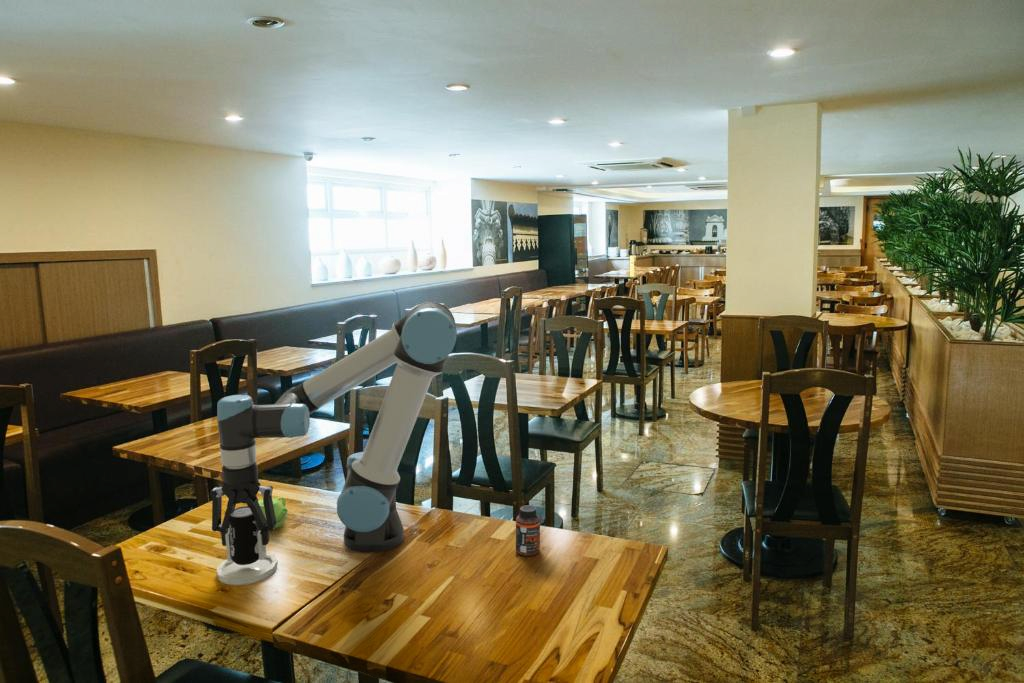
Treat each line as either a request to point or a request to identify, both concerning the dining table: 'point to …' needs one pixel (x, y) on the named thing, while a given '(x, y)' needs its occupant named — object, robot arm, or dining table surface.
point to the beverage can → (243, 536)
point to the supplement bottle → (527, 531)
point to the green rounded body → (277, 511)
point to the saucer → (246, 571)
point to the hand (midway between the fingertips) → (247, 557)
